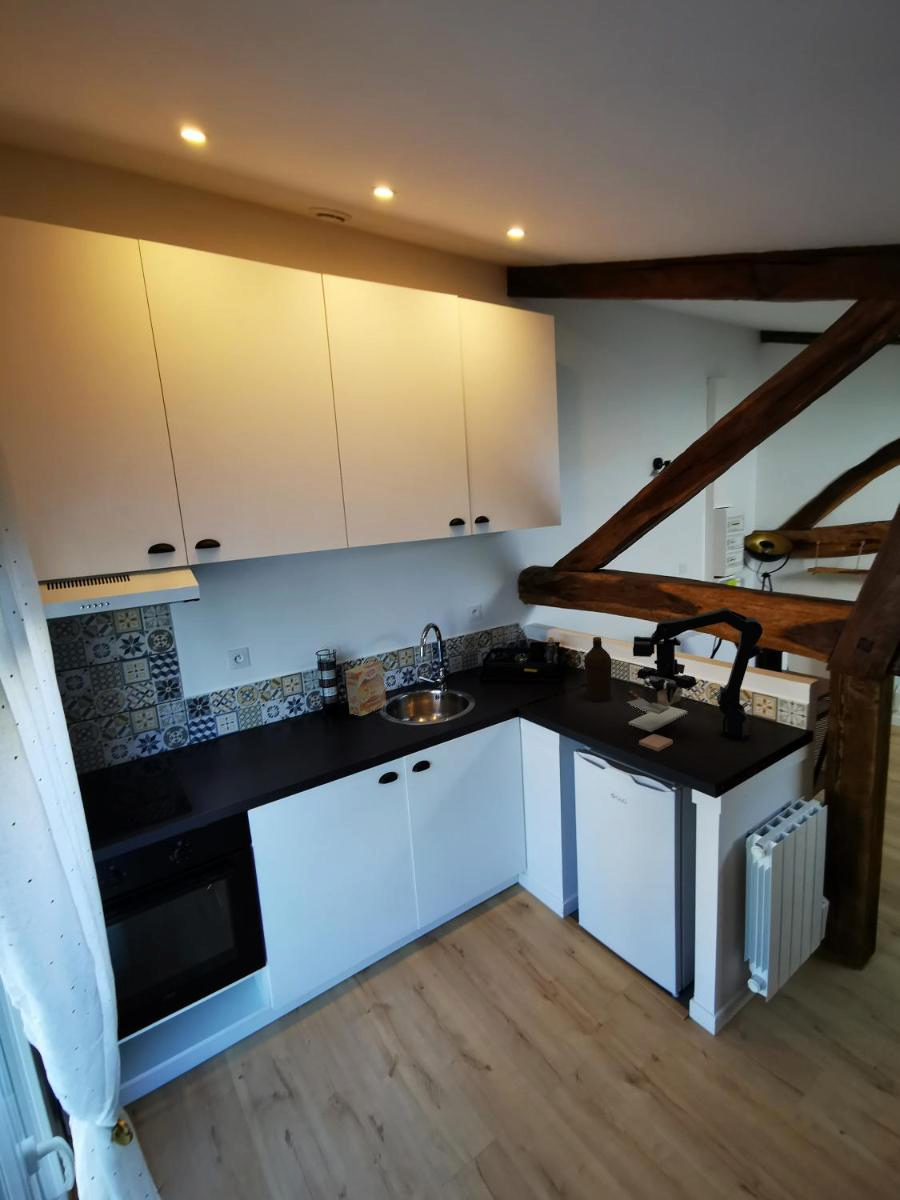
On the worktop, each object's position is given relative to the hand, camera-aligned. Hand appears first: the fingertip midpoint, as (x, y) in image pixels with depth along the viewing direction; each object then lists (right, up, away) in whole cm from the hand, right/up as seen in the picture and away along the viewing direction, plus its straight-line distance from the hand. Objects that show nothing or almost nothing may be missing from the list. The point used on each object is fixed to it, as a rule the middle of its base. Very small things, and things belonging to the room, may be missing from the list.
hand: (666, 701), depth 190 cm
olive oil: (-13, -5, +36) cm, 38 cm away
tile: (-3, -11, -6) cm, 13 cm away
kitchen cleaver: (0, -6, +27) cm, 27 cm away
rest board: (+1, -8, +11) cm, 14 cm away
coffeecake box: (-107, -12, +40) cm, 115 cm away
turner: (0, -1, 0) cm, 1 cm away
